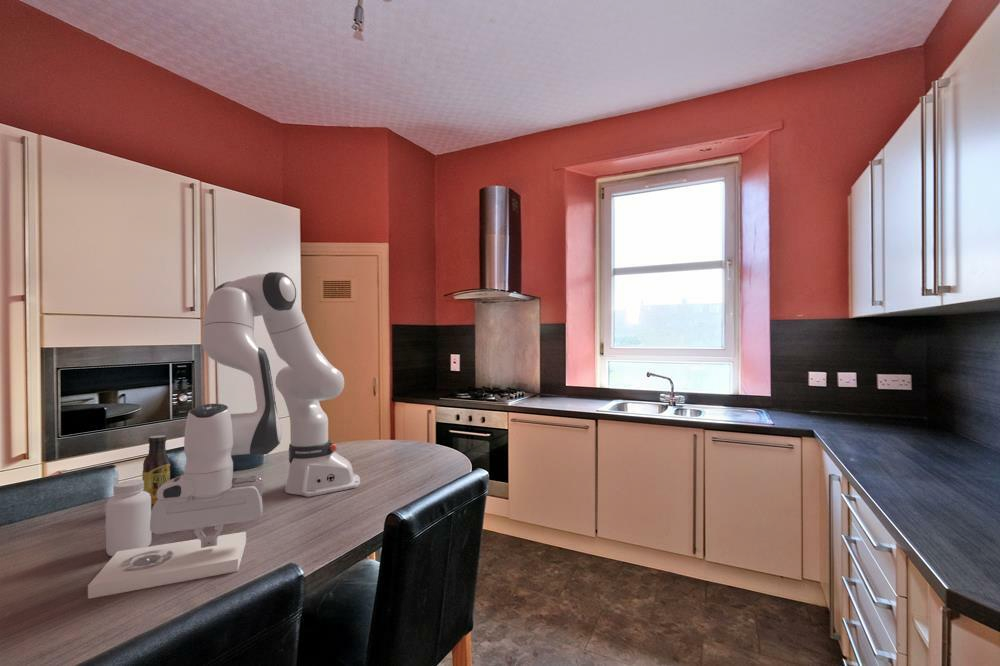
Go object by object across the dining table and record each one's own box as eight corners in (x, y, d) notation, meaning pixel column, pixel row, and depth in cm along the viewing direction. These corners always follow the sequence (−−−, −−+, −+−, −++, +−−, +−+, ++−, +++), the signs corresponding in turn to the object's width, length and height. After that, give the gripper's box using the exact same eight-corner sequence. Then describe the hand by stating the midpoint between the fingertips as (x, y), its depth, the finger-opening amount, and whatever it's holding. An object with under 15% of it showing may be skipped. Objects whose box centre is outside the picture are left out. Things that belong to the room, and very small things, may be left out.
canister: (234, 460, 173) (234, 415, 173) (270, 459, 174) (270, 414, 174) (217, 471, 160) (217, 421, 160) (255, 469, 161) (255, 420, 161)
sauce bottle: (154, 512, 123) (154, 439, 123) (135, 510, 124) (135, 438, 124) (175, 503, 129) (175, 434, 129) (157, 501, 130) (158, 433, 130)
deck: (246, 542, 105) (246, 531, 105) (237, 571, 92) (237, 559, 92) (117, 563, 95) (117, 551, 95) (87, 598, 82) (87, 585, 82)
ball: (138, 553, 92) (133, 569, 92) (133, 560, 89) (128, 576, 89) (157, 554, 94) (152, 570, 93) (152, 561, 91) (147, 577, 90)
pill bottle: (123, 541, 105) (123, 477, 105) (159, 540, 106) (159, 476, 106) (95, 558, 97) (96, 489, 97) (135, 556, 98) (135, 488, 98)
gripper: (265, 471, 103) (265, 531, 103) (156, 483, 95) (156, 548, 95) (262, 479, 97) (262, 542, 97) (146, 492, 89) (147, 562, 89)
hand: (209, 545), depth 96 cm, fingers closed
